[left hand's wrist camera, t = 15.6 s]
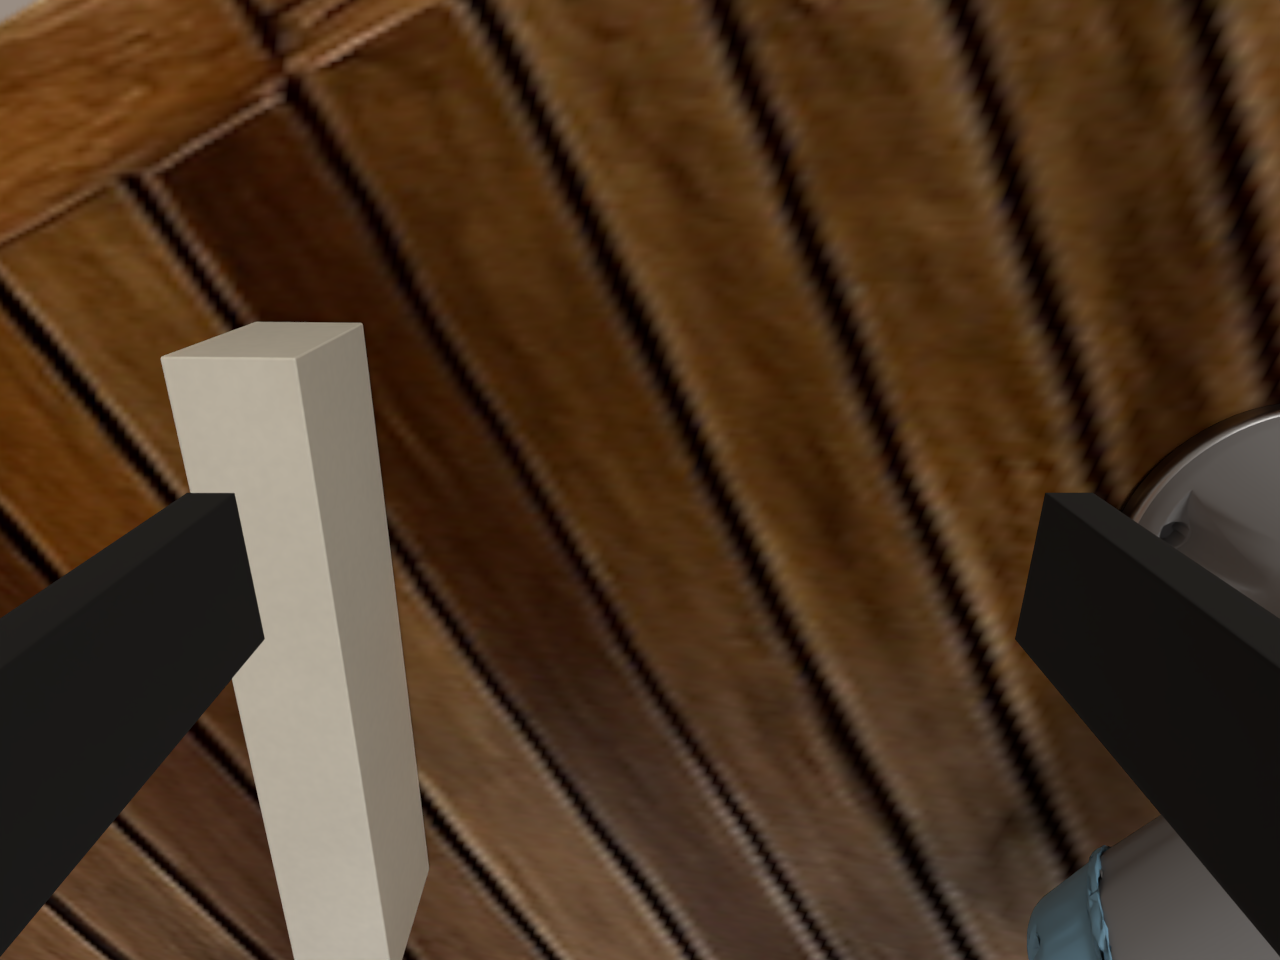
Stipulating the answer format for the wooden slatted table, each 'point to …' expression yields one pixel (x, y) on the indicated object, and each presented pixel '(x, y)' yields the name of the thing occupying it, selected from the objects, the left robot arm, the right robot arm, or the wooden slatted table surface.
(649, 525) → the wooden slatted table surface
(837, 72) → the wooden slatted table surface
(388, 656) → the beam
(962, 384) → the wooden slatted table surface
